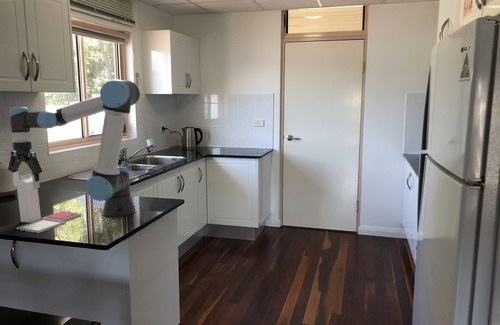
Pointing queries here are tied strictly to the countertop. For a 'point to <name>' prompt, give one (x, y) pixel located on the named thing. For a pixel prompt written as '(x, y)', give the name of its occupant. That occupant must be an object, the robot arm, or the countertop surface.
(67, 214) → the ink pad
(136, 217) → the countertop surface
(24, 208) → the milk
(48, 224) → the marked square
